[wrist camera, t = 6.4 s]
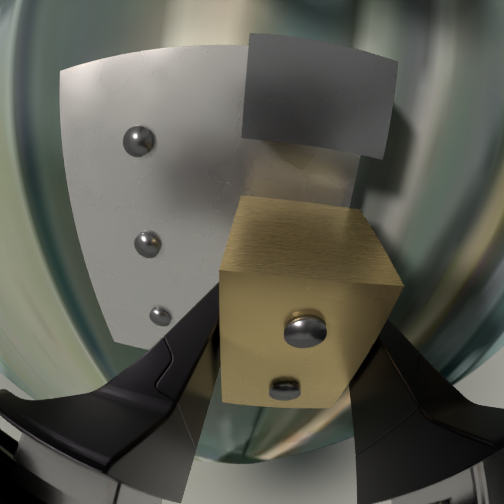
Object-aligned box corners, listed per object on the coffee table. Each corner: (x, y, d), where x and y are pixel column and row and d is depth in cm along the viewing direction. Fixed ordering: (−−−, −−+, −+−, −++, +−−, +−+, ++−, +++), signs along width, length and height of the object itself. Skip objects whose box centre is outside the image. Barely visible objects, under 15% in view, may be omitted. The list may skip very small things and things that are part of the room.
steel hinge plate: (363, 68, 8) (398, 61, 5) (297, 353, 17) (299, 396, 14) (76, 70, 8) (27, 74, 5) (120, 328, 17) (103, 364, 14)
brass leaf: (360, 209, 9) (407, 292, 5) (322, 330, 12) (331, 412, 8) (241, 195, 9) (217, 276, 5) (235, 323, 12) (221, 406, 9)
